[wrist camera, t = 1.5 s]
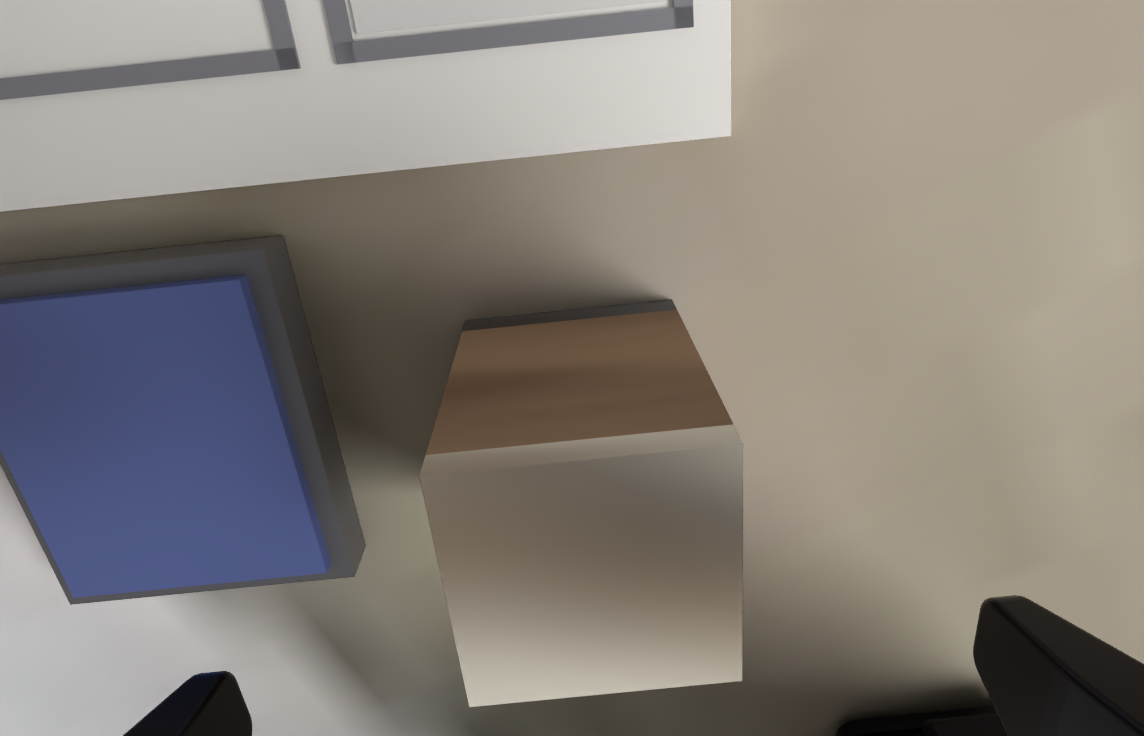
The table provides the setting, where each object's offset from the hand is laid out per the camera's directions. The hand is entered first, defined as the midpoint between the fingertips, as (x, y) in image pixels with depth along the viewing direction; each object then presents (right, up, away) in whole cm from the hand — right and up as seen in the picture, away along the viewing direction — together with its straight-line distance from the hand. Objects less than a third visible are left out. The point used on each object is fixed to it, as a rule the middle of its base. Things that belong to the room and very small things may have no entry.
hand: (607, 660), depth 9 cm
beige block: (0, +3, +6) cm, 7 cm away
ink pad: (-8, +2, +6) cm, 10 cm away
